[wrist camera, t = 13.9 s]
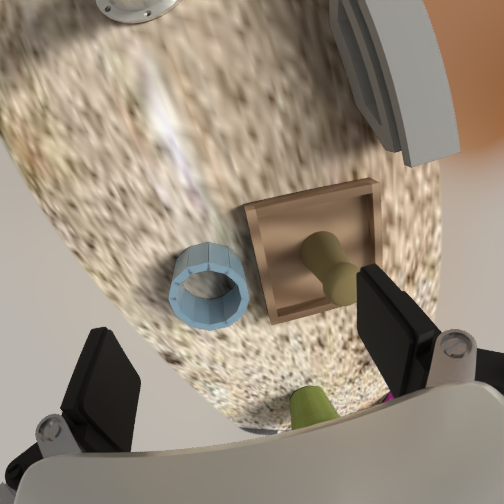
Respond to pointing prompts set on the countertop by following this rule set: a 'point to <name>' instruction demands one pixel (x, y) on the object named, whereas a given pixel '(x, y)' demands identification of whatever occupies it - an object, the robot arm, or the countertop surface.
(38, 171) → the countertop surface
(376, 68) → the grey lidded box
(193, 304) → the blue hollow cylinder
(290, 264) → the tray
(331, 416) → the plant pot
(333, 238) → the olive brown bulbous cylinder
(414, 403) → the robot arm
